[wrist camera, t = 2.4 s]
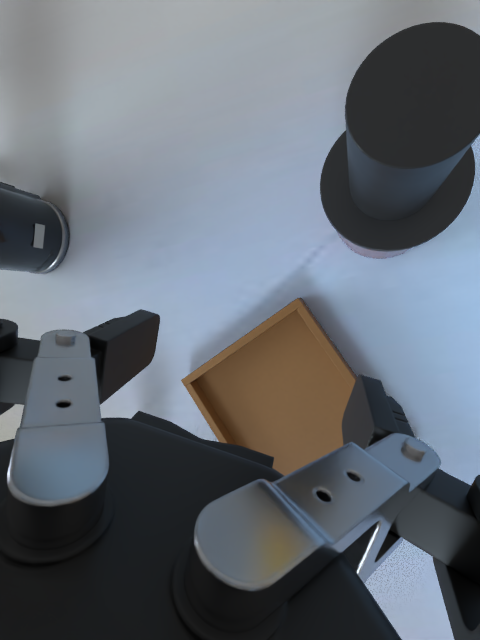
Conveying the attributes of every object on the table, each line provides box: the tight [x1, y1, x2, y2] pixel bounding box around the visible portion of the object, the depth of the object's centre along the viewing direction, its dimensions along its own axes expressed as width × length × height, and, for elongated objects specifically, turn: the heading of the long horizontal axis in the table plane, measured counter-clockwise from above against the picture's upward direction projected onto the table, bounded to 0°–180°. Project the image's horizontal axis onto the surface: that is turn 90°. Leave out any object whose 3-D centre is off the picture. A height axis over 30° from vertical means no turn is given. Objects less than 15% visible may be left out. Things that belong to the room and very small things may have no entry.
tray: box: [181, 298, 357, 476], centre depth 35 cm, size 19×16×2 cm
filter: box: [320, 22, 480, 252], centre depth 20 cm, size 10×10×12 cm
